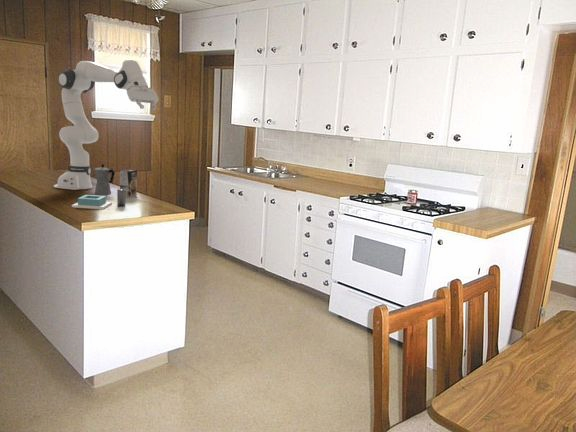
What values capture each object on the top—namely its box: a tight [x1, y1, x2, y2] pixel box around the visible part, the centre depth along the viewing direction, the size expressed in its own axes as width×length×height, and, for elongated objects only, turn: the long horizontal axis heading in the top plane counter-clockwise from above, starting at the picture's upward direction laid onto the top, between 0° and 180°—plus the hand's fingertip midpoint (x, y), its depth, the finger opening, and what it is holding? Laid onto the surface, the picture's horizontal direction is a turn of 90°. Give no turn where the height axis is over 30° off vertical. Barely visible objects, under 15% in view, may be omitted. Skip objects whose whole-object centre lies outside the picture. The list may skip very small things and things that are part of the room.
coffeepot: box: [93, 163, 116, 196], centre depth 281 cm, size 15×9×18 cm, turn 68°
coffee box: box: [119, 169, 138, 199], centre depth 278 cm, size 9×6×16 cm
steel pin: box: [116, 188, 126, 208], centre depth 251 cm, size 4×4×9 cm
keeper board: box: [71, 194, 113, 210], centre depth 247 cm, size 16×14×5 cm
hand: (148, 108), depth 261 cm, fingers open, 8 cm apart
